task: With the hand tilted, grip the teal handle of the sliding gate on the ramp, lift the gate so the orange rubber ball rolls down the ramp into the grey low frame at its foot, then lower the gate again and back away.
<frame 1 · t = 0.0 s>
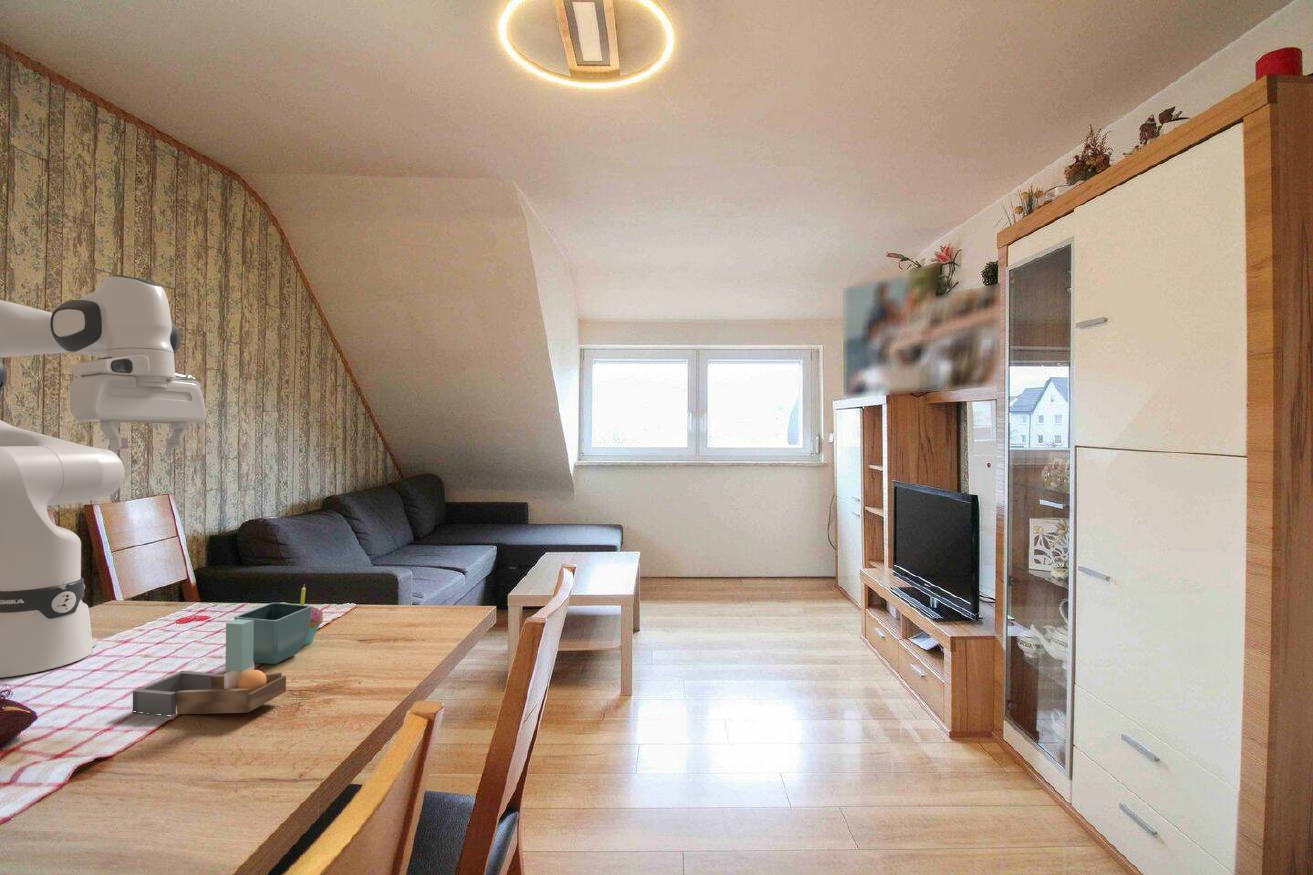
hand: (148, 448, 100), 39 cm above the table, tool pointing down, fingers open, 8 cm apart
grey low frame: (176, 702, 89), on the table
ball: (252, 682, 87), point 4 cm above the table, tilted 10°, touching gate, ramp
cupcake: (298, 643, 115), on the table
ramp: (230, 707, 88), on the table
flower pot: (274, 660, 107), on the table
gate: (239, 657, 87), point 8 cm above the table, slide at 0.0 cm, touching ball
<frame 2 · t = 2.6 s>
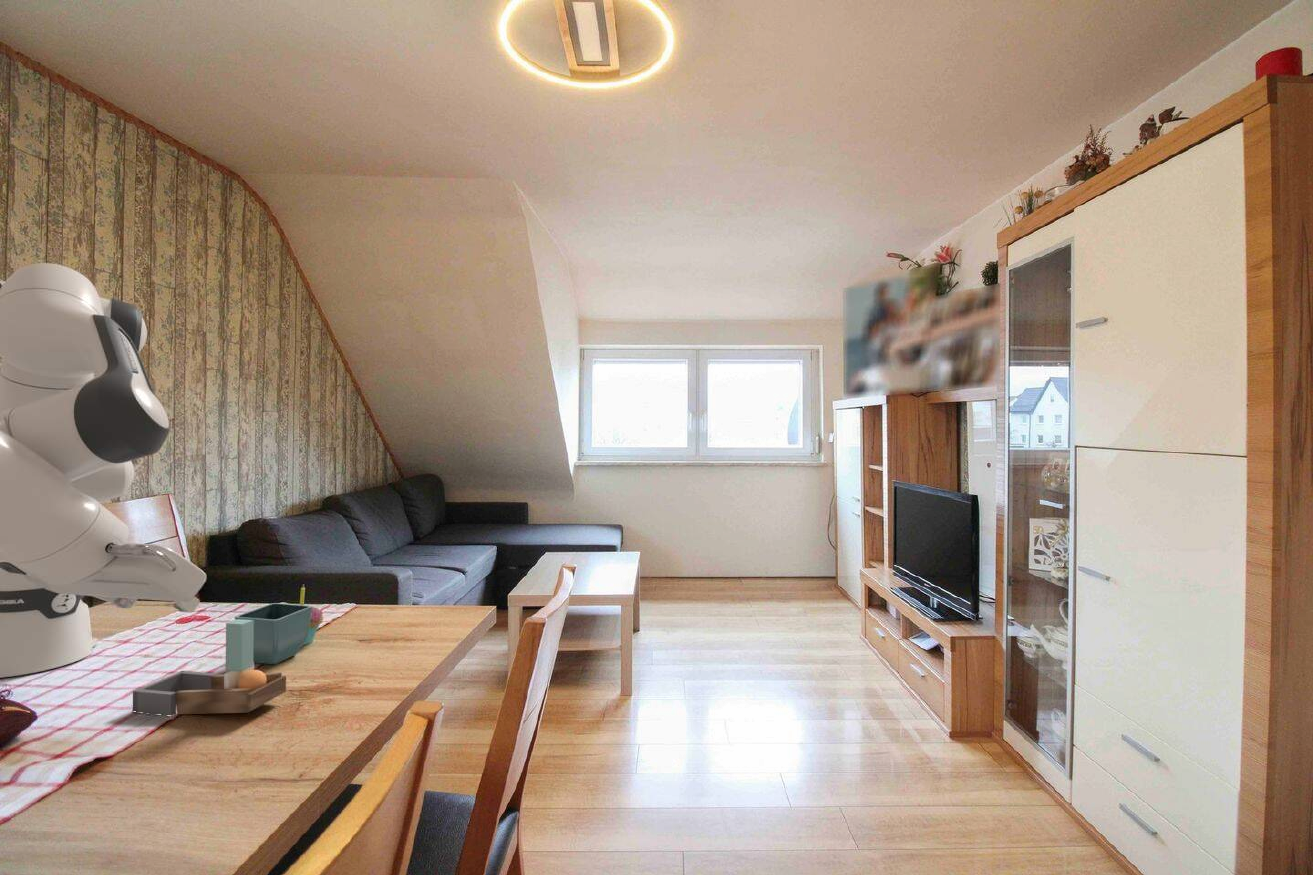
hand: (160, 605, 75), 19 cm above the table, tool tilted 45°, fingers open, 8 cm apart
nothing on the table moved.
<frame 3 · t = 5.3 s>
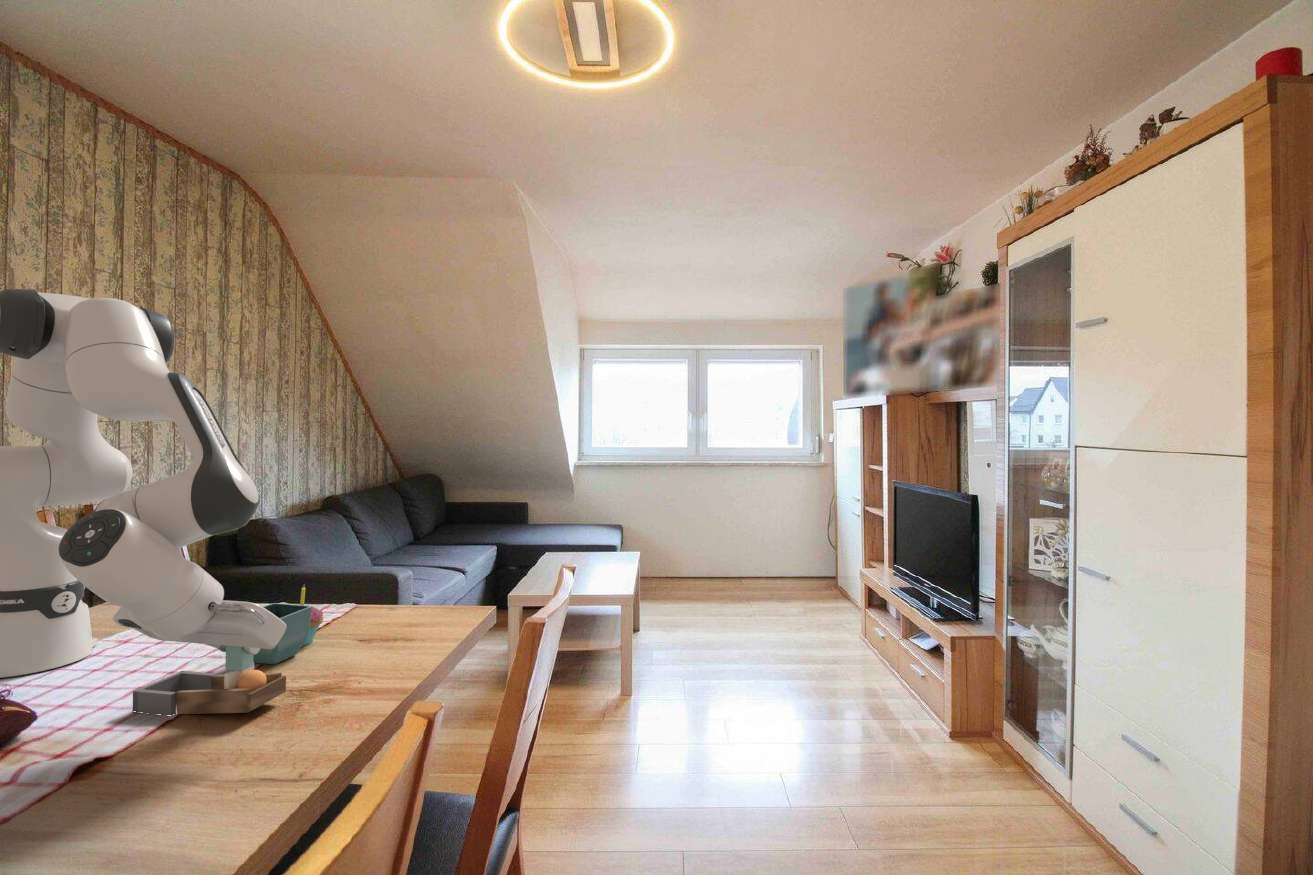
hand: (243, 648, 88), 9 cm above the table, tool tilted 45°, fingers closed on gate, 3 cm apart
gate: (239, 657, 87), point 8 cm above the table, slide at 0.0 cm, touching ball, gripper
everything else where it was.
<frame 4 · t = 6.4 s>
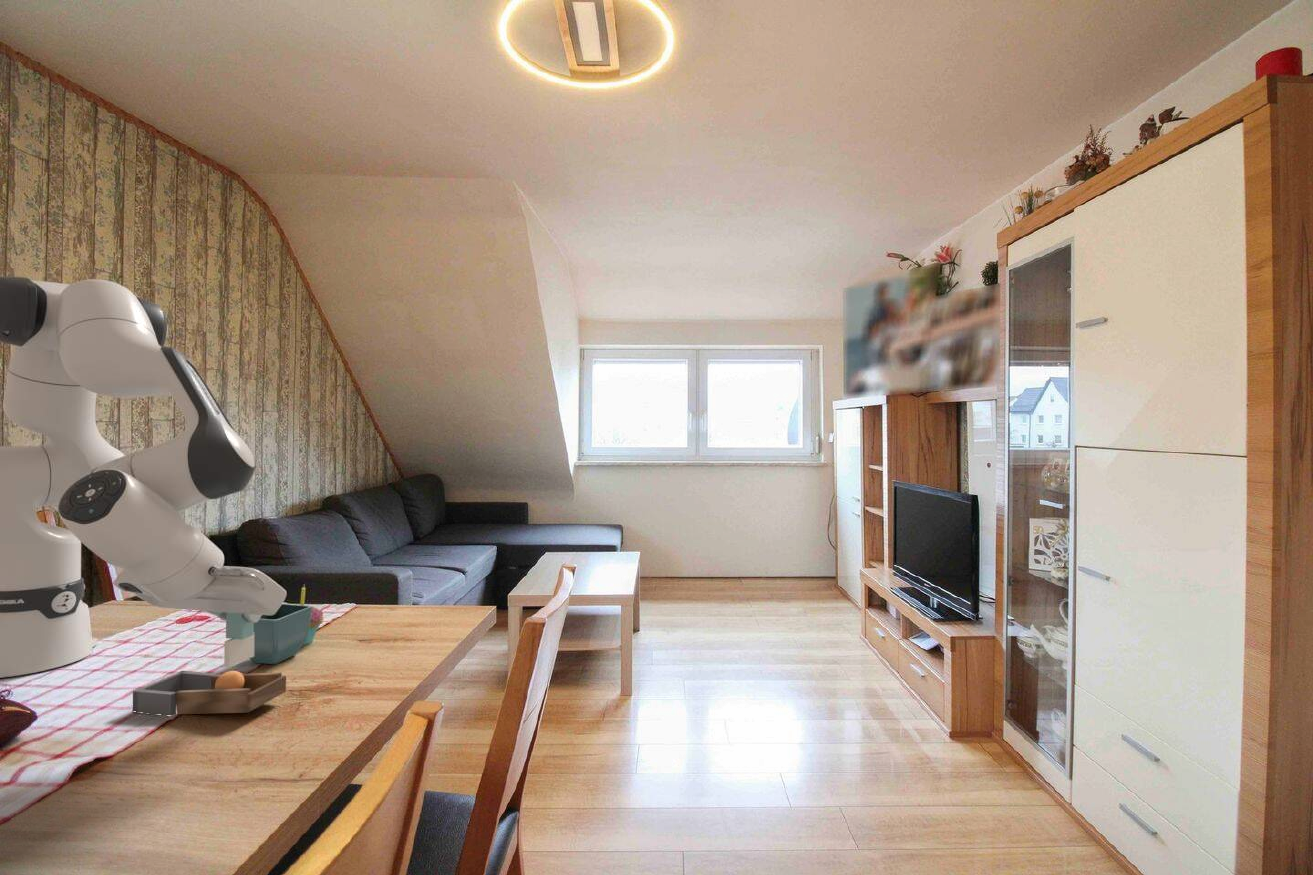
hand: (243, 617, 88), 14 cm above the table, tool tilted 45°, fingers closed on gate, 3 cm apart
ball: (229, 683, 88), point 4 cm above the table, tilted 132°, touching ramp
gate: (239, 625, 87), point 13 cm above the table, slide at 4.8 cm, touching gripper
everything else where it was.
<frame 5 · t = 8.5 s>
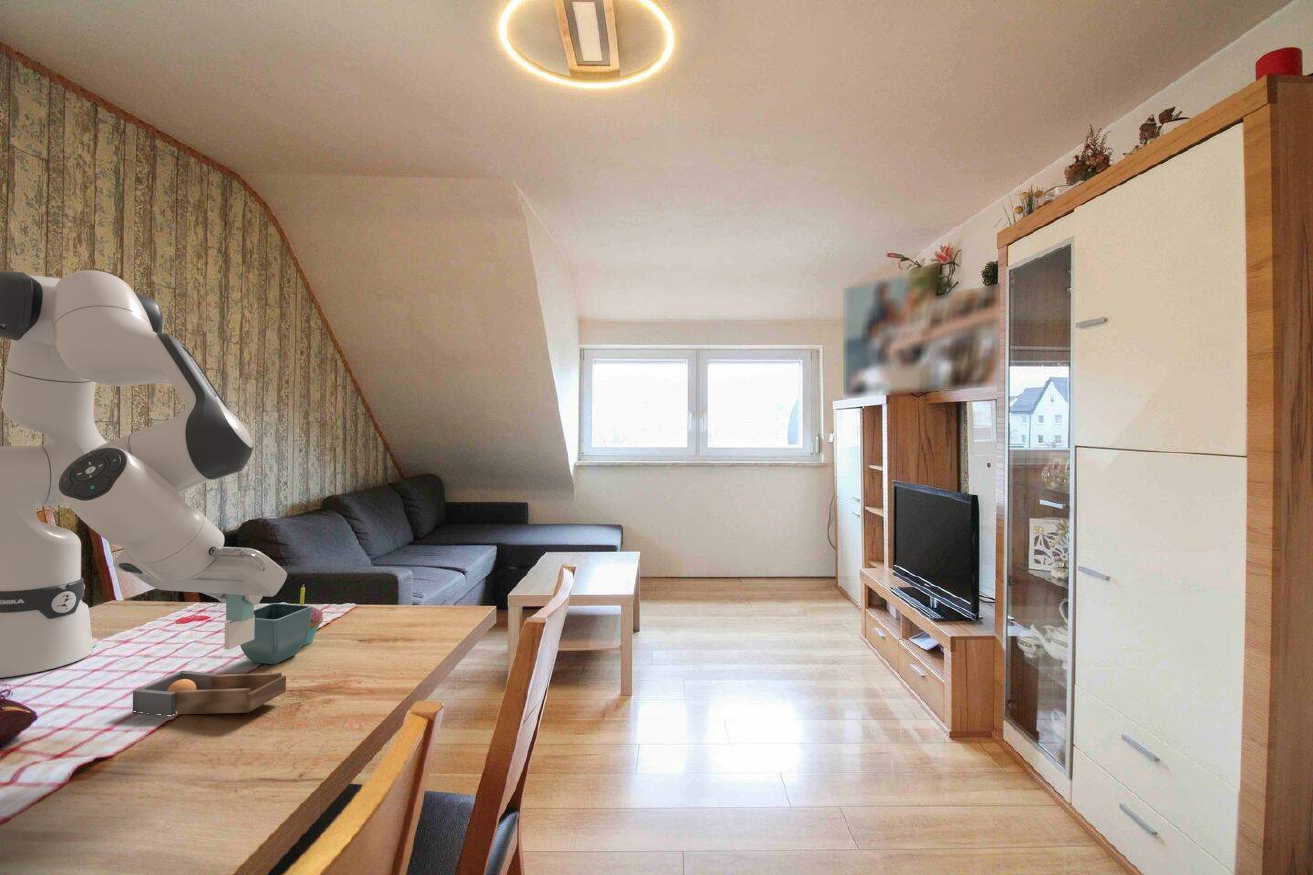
hand: (243, 599, 88), 16 cm above the table, tool tilted 45°, fingers closed on gate, 3 cm apart
ball: (181, 691, 89), point 2 cm above the table, tilted 61°
gate: (240, 608, 87), point 15 cm above the table, slide at 7.4 cm, touching gripper
everything else where it was.
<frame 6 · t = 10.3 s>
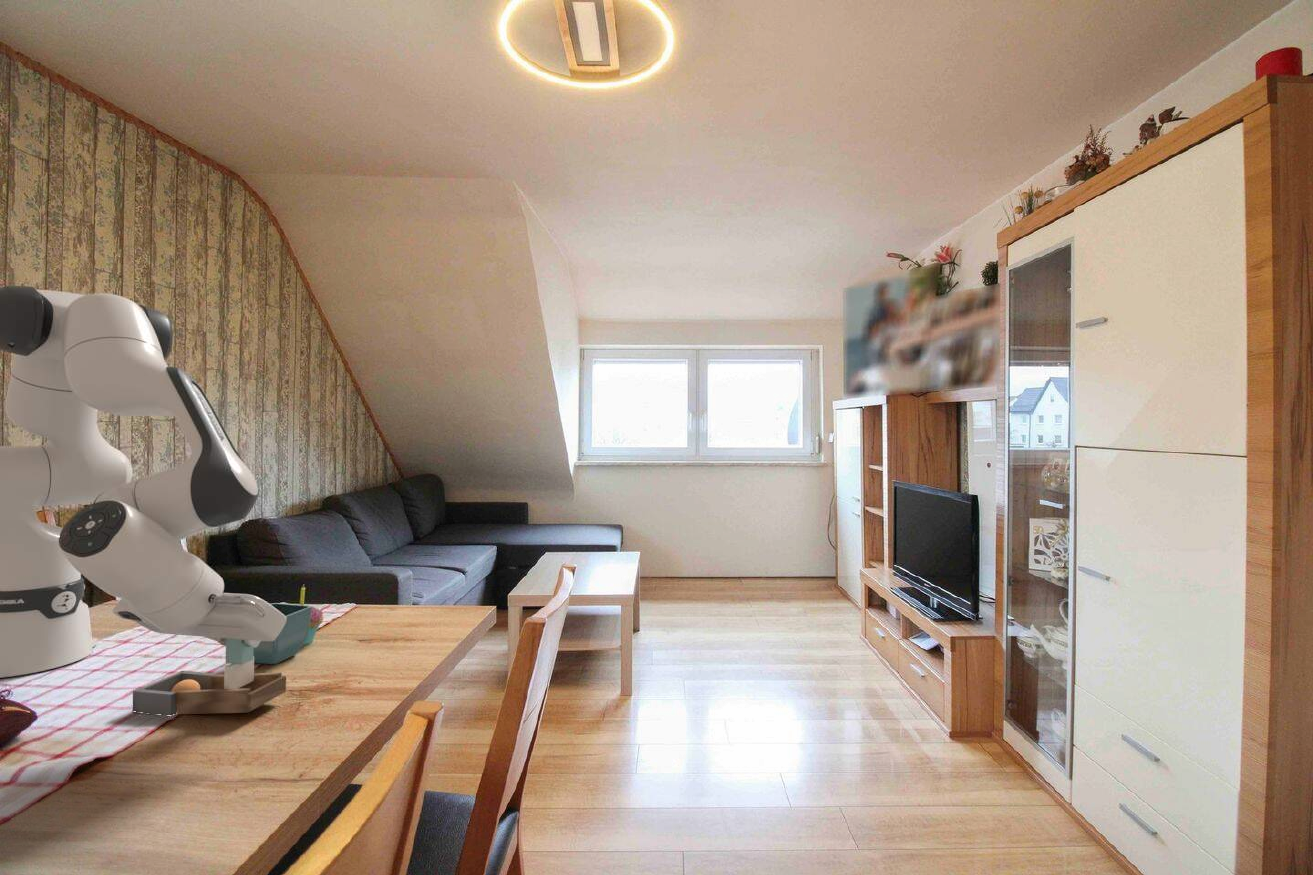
hand: (243, 641, 88), 10 cm above the table, tool tilted 45°, fingers closed on gate, 3 cm apart
ball: (185, 691, 89), point 2 cm above the table, tilted 37°
gate: (239, 650, 87), point 9 cm above the table, slide at 1.0 cm, touching gripper
everything else where it was.
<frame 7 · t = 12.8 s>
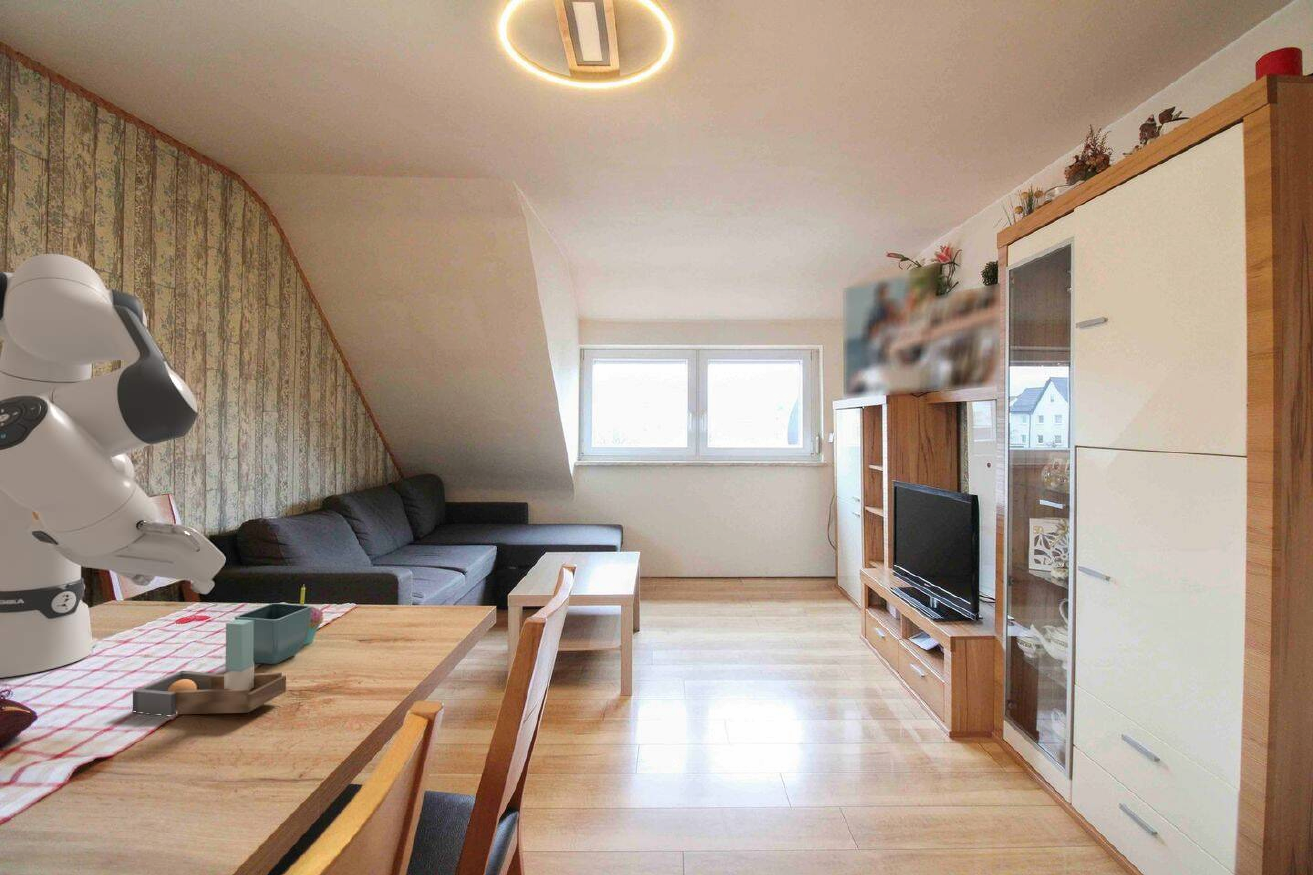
hand: (176, 585, 79), 21 cm above the table, tool tilted 40°, fingers open, 8 cm apart
ball: (181, 691, 89), point 2 cm above the table, tilted 58°
gate: (239, 657, 87), point 8 cm above the table, slide at 0.0 cm
everything else where it was.
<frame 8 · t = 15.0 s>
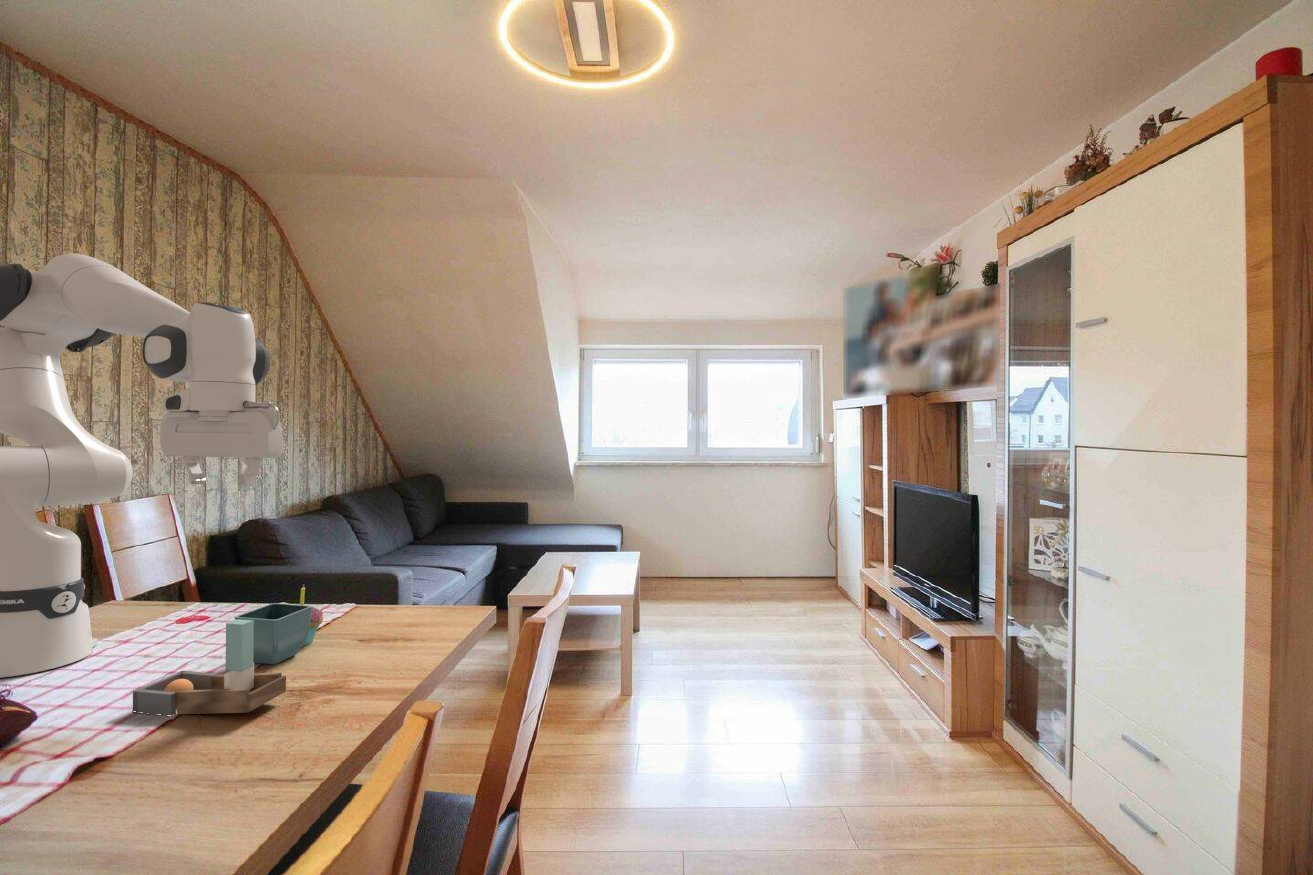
hand: (222, 484, 96), 33 cm above the table, tool pointing down, fingers open, 8 cm apart
ball: (178, 691, 89), point 2 cm above the table, tilted 77°
everything else where it was.
at the end: ball 0.0 cm from the target spot, point 1.8 cm above the table; gate slide at 0.0 cm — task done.
